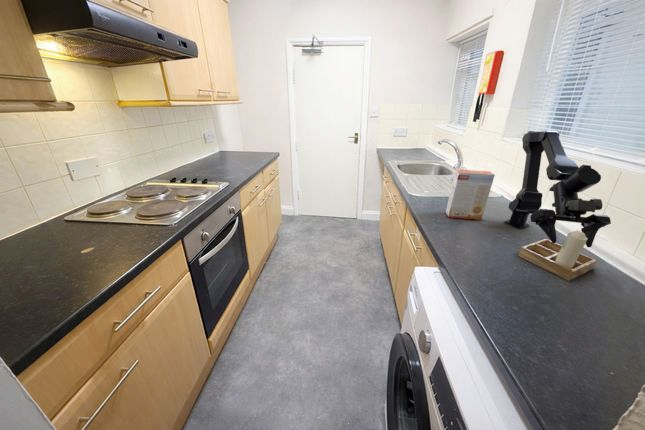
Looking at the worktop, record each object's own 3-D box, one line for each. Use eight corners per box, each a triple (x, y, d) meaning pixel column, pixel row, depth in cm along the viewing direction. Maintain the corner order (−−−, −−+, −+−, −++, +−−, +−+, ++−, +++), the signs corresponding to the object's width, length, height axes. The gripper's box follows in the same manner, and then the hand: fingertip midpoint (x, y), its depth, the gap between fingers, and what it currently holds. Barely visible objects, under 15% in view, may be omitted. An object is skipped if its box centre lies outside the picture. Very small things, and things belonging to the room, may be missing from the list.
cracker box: (476, 215, 121) (490, 170, 113) (481, 220, 116) (496, 174, 107) (444, 212, 124) (455, 168, 115) (447, 217, 118) (459, 172, 109)
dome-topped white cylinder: (552, 263, 87) (570, 226, 81) (570, 268, 84) (589, 231, 78) (552, 269, 84) (570, 231, 78) (570, 275, 81) (590, 236, 75)
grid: (542, 246, 97) (545, 238, 96) (592, 268, 85) (597, 260, 84) (517, 255, 91) (521, 247, 90) (568, 280, 79) (573, 271, 78)
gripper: (549, 184, 80) (554, 233, 75) (622, 190, 76) (633, 242, 71) (528, 199, 90) (531, 243, 85) (592, 205, 87) (599, 251, 82)
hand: (571, 244), depth 81 cm, fingers open, 9 cm apart
